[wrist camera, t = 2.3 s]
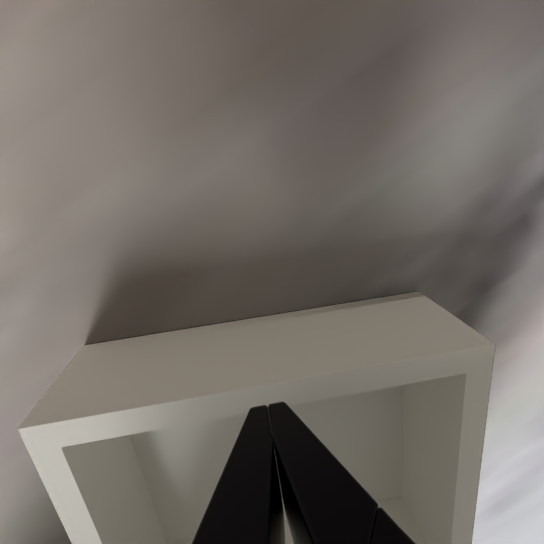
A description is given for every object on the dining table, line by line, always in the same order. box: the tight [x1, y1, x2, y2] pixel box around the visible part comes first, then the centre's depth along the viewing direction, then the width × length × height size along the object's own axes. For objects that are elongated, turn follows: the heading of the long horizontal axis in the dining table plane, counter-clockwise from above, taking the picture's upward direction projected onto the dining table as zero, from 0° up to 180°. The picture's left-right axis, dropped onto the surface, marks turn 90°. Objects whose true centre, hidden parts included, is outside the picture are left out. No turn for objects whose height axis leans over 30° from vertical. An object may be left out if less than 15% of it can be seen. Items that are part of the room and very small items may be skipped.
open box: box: [18, 291, 495, 544], centre depth 16 cm, size 14×16×5 cm
